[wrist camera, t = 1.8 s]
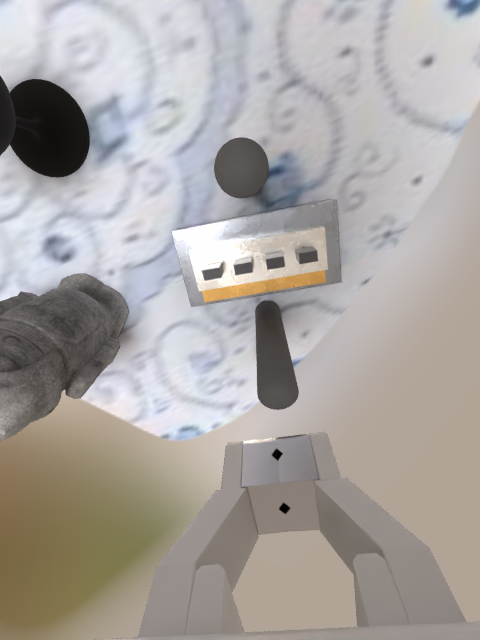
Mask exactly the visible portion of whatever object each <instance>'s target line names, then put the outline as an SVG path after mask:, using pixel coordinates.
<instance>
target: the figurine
mask: <svg viewBox="0 0 480 640" xmlns="http://www.w3.org/2000/svg"><path fill="white" fill-rule="evenodd" d="M127 316H128V308H127V305H126V302H125V300H124V298H123V297H122V296H121V295H120V293H119V292H117V291H115V290H114V289H112V288H110V287H108V286H106V285H104V284H103V283H102V282H100V281H98V280H97V279H95V278H93V277H91V276H89V275H87V274H74V275H71V276H68V277H66V278H64V279H62V281H61V282H60V284H59V286H58V288H57V289H54V290H51V291H49V292H47V293H45V294H43V295H41V296H39V297H38V296H36V295H34V294H32V293H26V292H20V293H19V295H18V296H15V297H12V298H9V299H6V300H3V301H1V302H0V441H2V440H5V439H7V438H9V437H11V436H13V435H15V434H17V433H18V432H19V431H21V430H22V429H23V428H25V427H26V426H27V425H28V424H29V423H31V422H33V421H35V420H38V419H40V418H43V417H45V416H47V415H48V414H49V413H51V412H52V411H53V410H54V408H55V407H56V406H57V405H58V403H59V401H60V398H61V392H62V391H63V390H65V391H66V395H67V396H69V397H72V398H74V399H78V398H81V397H82V396H83V395H84V394H85V392H86V391H87V390H88V389H89V388H90V386H91V385H92V384H93V383H94V381H95V380H96V378H97V377H98V376H99V375H100V373H101V372H102V371H103V370H104V369H105V368H106V367H107V366H108V365H109V364H110V363H112V362H113V360H114V358H115V356H116V354H117V352H118V350H119V348H120V344H119V341H117V338H118V336H119V334H120V332H121V330H122V328H123V326H124V323H125V321H126V319H127Z"/></svg>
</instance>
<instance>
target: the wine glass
mask: <svg viewBox="0 0 480 640" xmlns="http://www.w3.org/2000/svg"><path fill="white" fill-rule="evenodd" d="M9 144H10V145H11V147H12V149H13V150H14V152H15V153H16V155H17V156H18V157H19V158H20V160H21V161H22V162H23V163H25V164H26V165H27V166H28V167H29V168H31V169H32V170H34V171H36V172H37V173H39V174H42V175H45V176H49V177H64V176H67V175H70V174H72V173H74V172H75V171H76V170H78V169H79V168H80V167H81V165H82V164H83V163H84V161H85V159H86V156H87V153H88V149H89V130H88V126H87V122H86V119H85V116H84V114H83V112H82V110H81V108H80V107H79V105H78V104H77V102H76V101H75V100H74V99H73V98H72V97H71V95H70V94H69V93H67V92H66V91H65V90H64V89H62V88H61V87H59V86H58V85H56V84H54V83H51V82H49V81H46V80H41V79H32V80H27V81H24V82H21V83H20V84H18V85H17V86H16V87H15V88H14V89H13V90H12V91H11V92H10V93H9V91H8V89H7V87H6V84H5V82H4V81H3V79H2V78H1V76H0V155H1V154H2V153H3V152H4V151H5V150H6V149H7V147H8V146H9Z"/></svg>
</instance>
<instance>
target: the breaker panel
mask: <svg viewBox="0 0 480 640" xmlns="http://www.w3.org/2000/svg"><path fill="white" fill-rule="evenodd" d="M172 235H173V239H174V243H175V247H176V250H177V254H178V258H179V262H180V266H181V270H182V274H183V277H184V281H185V285H186V289H187V293H188V297H189V301H190V304H191V307H194V306H200V305H206V304H212V303H218V302H224V301H230V300H236V299H242V298H249V297H255V296H261V295H267V294H273V293H279V292H285V291H291V290H297V289H303V288H309V287H315V286H322V285H328V284H334V283H340V282H342V280H341V264H340V248H339V232H338V215H337V200H330V199H328V200H323V201H318V202H313V203H307V204H302V205H297V206H292V207H287V208H281V209H276V210H271V211H266V212H261V213H256V214H250V215H245V216H240V217H235V218H230V219H224V220H219V221H214V222H209V223H204V224H198V225H193V226H188V227H183V228H178V229H176V230H174V231H172ZM311 246H313V247H314V248H315V249H316V250H317V254H318V261H317V262H311V263H305V264H299V263H298V261H297V260H296V252H295V249H300V248H305V247H311ZM277 252H282V254H283V256H284V261H285V267H282V268H276V269H270V270H267V266H266V260H265V255H266V254H272V253H277ZM249 257H251V258H252V264H253V273H247V274H241V275H235V271H234V266H233V265H234V261H235V260H238V259H243V258H249ZM221 262H222V267H223V271H224V273H223V275H222V278H218V279H212V280H207V281H204V278H203V273H202V270H203V268H204V267H205V265H210V264H215V263H221Z"/></svg>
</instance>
